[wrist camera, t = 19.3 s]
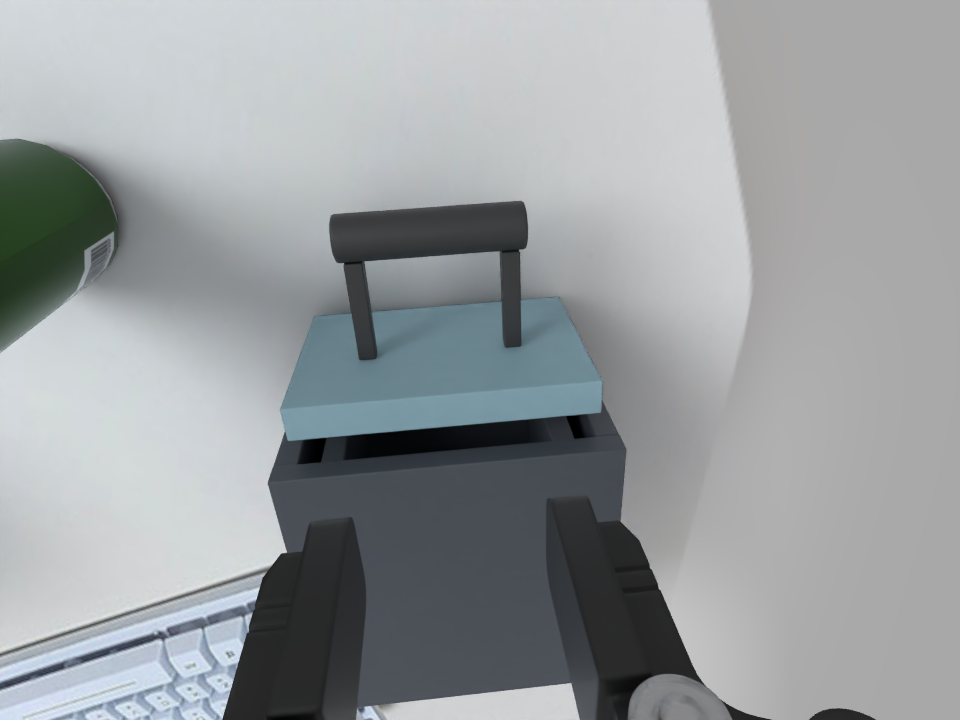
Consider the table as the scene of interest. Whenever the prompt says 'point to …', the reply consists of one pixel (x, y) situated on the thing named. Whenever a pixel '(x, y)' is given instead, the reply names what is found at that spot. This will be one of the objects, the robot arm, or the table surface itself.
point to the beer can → (48, 233)
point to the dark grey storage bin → (453, 553)
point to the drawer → (438, 349)
